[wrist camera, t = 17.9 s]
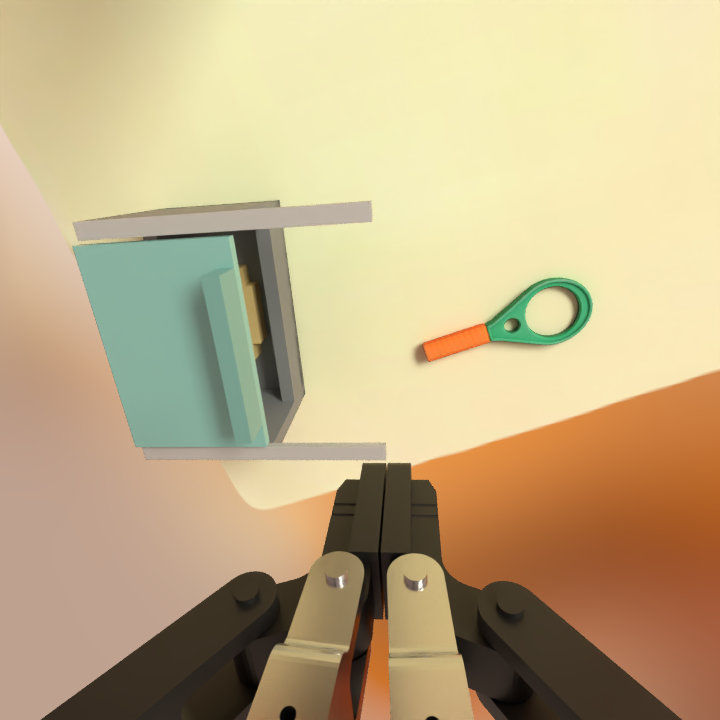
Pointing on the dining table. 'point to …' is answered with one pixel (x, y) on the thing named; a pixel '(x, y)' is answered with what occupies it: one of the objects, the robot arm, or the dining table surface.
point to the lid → (177, 340)
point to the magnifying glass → (522, 332)
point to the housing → (252, 309)
